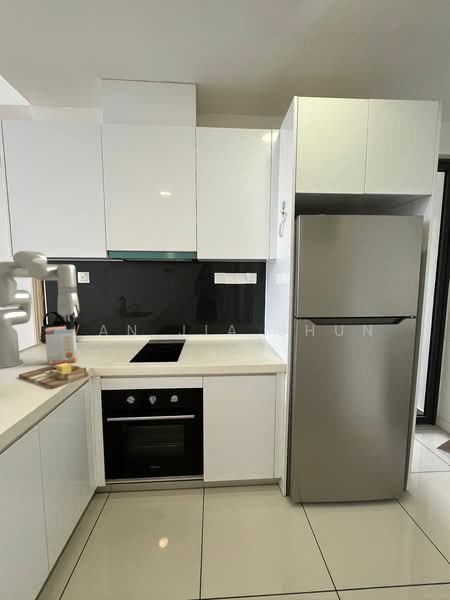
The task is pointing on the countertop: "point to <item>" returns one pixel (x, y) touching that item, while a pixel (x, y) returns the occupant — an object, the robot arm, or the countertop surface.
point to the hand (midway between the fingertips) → (70, 329)
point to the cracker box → (60, 345)
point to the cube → (64, 368)
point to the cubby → (67, 376)
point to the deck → (47, 377)
